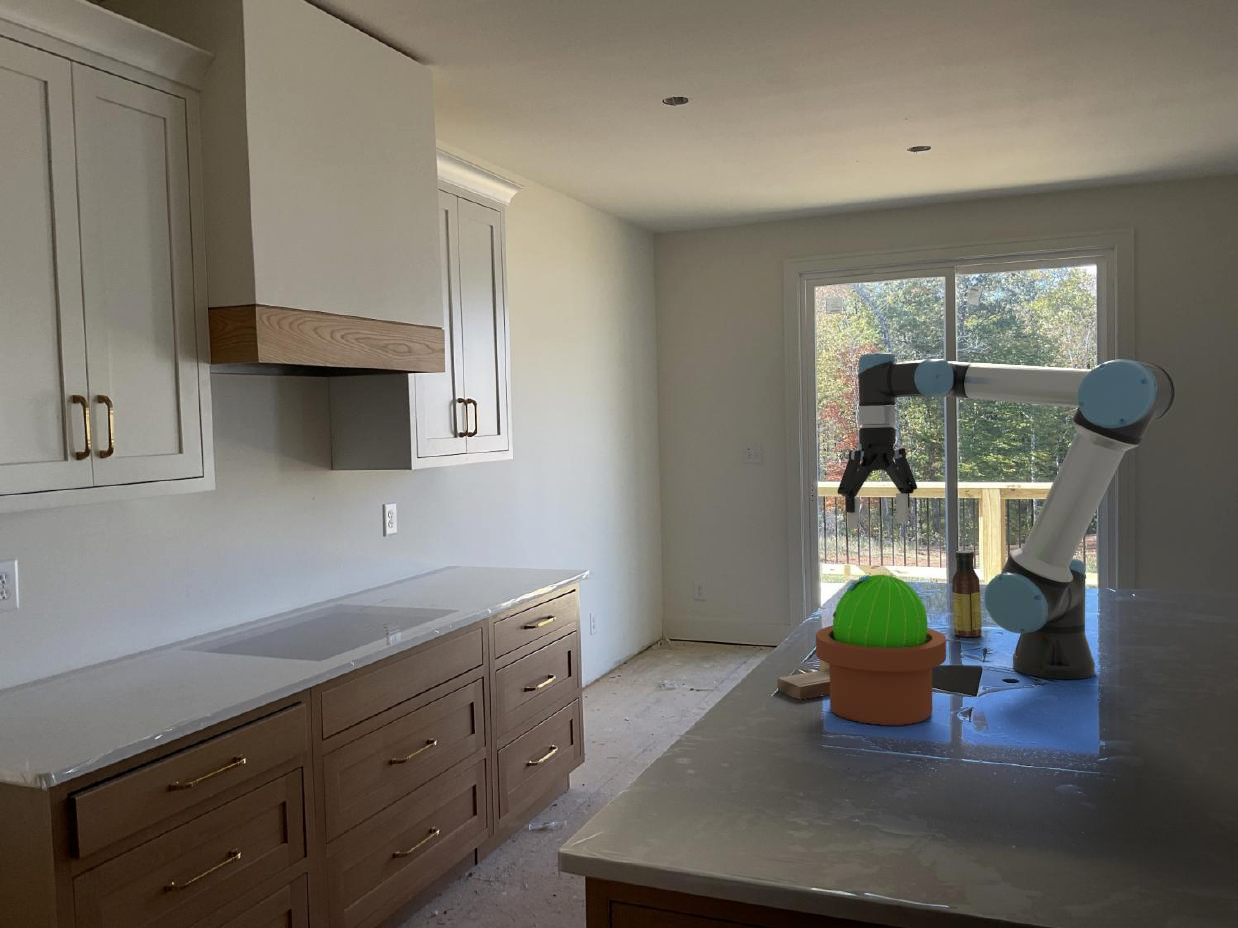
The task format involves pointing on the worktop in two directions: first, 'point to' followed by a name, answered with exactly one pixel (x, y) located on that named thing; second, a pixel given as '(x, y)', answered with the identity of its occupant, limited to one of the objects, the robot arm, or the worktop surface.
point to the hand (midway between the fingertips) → (878, 525)
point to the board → (806, 684)
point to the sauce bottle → (966, 597)
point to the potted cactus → (881, 653)
